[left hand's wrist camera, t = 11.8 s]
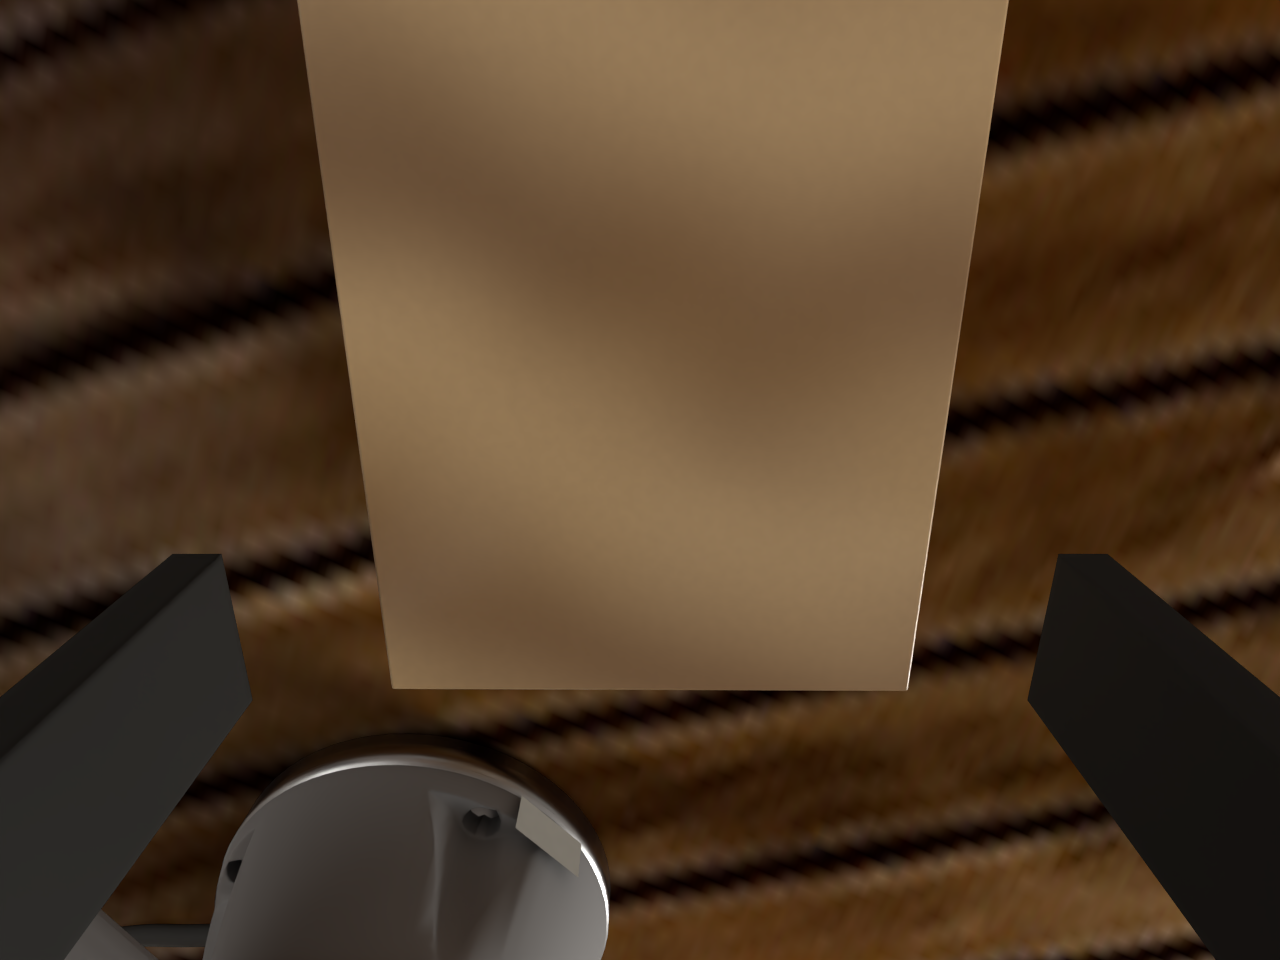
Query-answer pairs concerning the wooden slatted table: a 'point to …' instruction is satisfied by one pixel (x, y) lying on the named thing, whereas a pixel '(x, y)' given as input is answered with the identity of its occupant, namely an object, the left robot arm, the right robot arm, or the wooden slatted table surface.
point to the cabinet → (651, 326)
